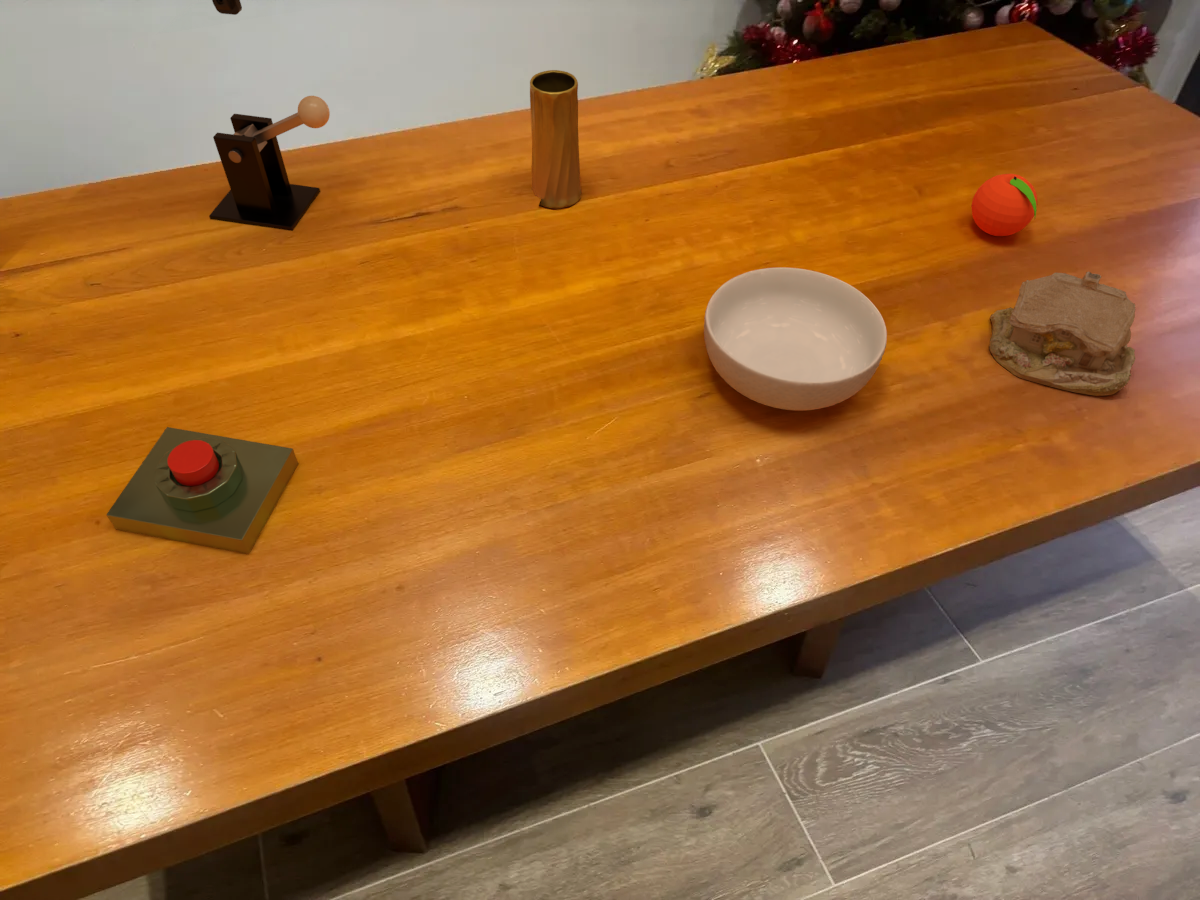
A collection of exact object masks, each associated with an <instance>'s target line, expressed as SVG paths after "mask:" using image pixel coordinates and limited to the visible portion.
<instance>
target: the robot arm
mask: <svg viewBox="0 0 1200 900" xmlns="http://www.w3.org/2000/svg"><path fill="white" fill-rule="evenodd" d="M211 2H212V4H213V6H214V8H215V10H216V11H217V12H218V13H219V14H221V15H222V14H223V15H232V16H236V15H238V14H239V13H240V12H241V11H242V9H243V6H242V3H241V0H211Z"/></svg>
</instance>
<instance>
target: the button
mask: <svg viewBox="0 0 1200 900" xmlns="http://www.w3.org/2000/svg"><path fill="white" fill-rule="evenodd" d="M167 462H168V466H169V468H170V470H171V472H172V473H173V475H174V477H175V479H176V480H177V482H179V483H180V484H182V485H185V486H197V485H201V484H204V483H206V482H208V481H209V480H211V479H212V478H213V477H214V476H215V475H216V473H217V471H218V469H219V462H218V459H217V457H216V455H215V453H214V451H213V449H212V447H211V446H210V445H209V444H208V443H206V442H204V441H201V440H192V441H187V442H184V443H182V444H180V445H178V446H177V447H175V448H174V449H173V450H172V451H171V453H170V454H169V456H168V461H167Z"/></svg>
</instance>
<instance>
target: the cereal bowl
mask: <svg viewBox="0 0 1200 900" xmlns="http://www.w3.org/2000/svg"><path fill="white" fill-rule="evenodd" d="M704 312H705V313H704V323H703V335H704V339H703V340H704V344H705V349H706V352H707V355H708V358H709V359H708V360H709V361H710V362H711V364H712V365H711V366H713V367H714V369H715V372H717V373H718V375H719V376H720V378H722V379H723V381H724V382H725V383H726V384H727V385H729V386H730V388H732V389H734V390H735V391H736V392H737V393H739V394H741V395H742V396H744V397H746V398H747V399H749V400H750V401H754V402H756V403H758V404H762V405H764V406H766V407H771V408H774V409H779V410H780V409H781V410H787V411H803V412H804V411H814V410H820V409H824V408H829V407H832V406H836V405H837V404H840V403H843V402H844V401H846V400H848V399H850V398H851V397H854V396H855V395H856V394H857V393H858V392H860V391H861V390H862V389H863V388H864V387H865V386H866V385H867V384H868V382H869V381H870V380H871V379H872V377H873V376H874V375H875V373H876V371H877V369H878V368H879V366H880V363H881V361H882V360H883V356H884V354H885V351H886V348H887V341H888V340H887V339H888V331H887V326H886V323H885V320H884V318H883V315H882V314H881V312H880V311H879V309H878V307H876V305H875V304H874V303H873V302H872V301H871V300H870V299H869V298H868V297H867V296H866V295H865V294H864V293H862V291H860V290H859V289H857V288H856V287H854V285H851V284H849V283H847V282H845V281H843V280H841V279H840V278H837V277H834V276H832V275H828V274H826V273H823V272H820V271H815V270H811V269H805V268H798V267H782V266H781V267H767V268H766V267H765V268H759V269H754V270H750V271H747V272H743V273H741V274H738V275H736V276H734V277H732V278H730V279H729V280H727V281H726V282H724V283H723V284H721V286H720V287H718V288H717V290H716V291H715V292H714V293H713V294H712V296H711V297H710V299H709V301H708V303H707V306H706V309H705V311H704Z"/></svg>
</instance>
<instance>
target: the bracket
mask: <svg viewBox="0 0 1200 900" xmlns="http://www.w3.org/2000/svg"><path fill="white" fill-rule="evenodd" d="M229 119H230V123H231V125H232V129H233V132H234V133H235V132H237V131H239V130H241V129H243V128H245V127H247V126H249V125H252V124H253V125H254V126H255V127H256V128H257V130H261V129H263V128H265V127H267V126H269V125H271V124H274V123H273V119H272V118H271V117H264V116H257V115H250V114H249V115H248V114H242V113H241V114H240V113H233V114H232V115H231V117H230V118H229ZM234 133H233V134H234ZM233 134H232V133H224V132H216V133H215V135H213V137H212V138H213V141H214V144H215V147H216V150H217V153H218V156H219V159H220V162H221V164H222V168H223V171H224V174H225V177H226V180H227V183H228V185H229V188H230V190H229V191H227V193H226V195H225V196H224V197H223V198H221V200H220V202H219V203H218V204H217V205H216V206H215V208H214V209H213V210H212V212H210V214H209V216H208V217H209V219H210V220H214V221H220V222H227V223H234V224H241V225H247V226H255V227H262V228H269V229H276V230H283V231H290V232H291V231H292V232H293V231H294V230H295V229H296V227H297V225H298V224H299V223H300V221H301V220H302V218H303V217H304V216H305V214H306V213H307V211H308V210H309V208H310V207H311V205H312V204H313V203H314V202H315V200H316V199H317V198H318V196H319V194H320V193H321V188H320V187H317V186H308V185H302V184H294V183H290V180H289V177H288V173H287V169H286V166H285V163H284V157H283V156H282V151H281V148H280V143H279V141H278V136H275V137H273V138H271V139H269V140H267V144H266V145H265V146H264V148H263V149H262V150H261V151H260V152H259V149H258V145H257V142H256V138H255V137H248V136H240V135H233Z"/></svg>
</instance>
